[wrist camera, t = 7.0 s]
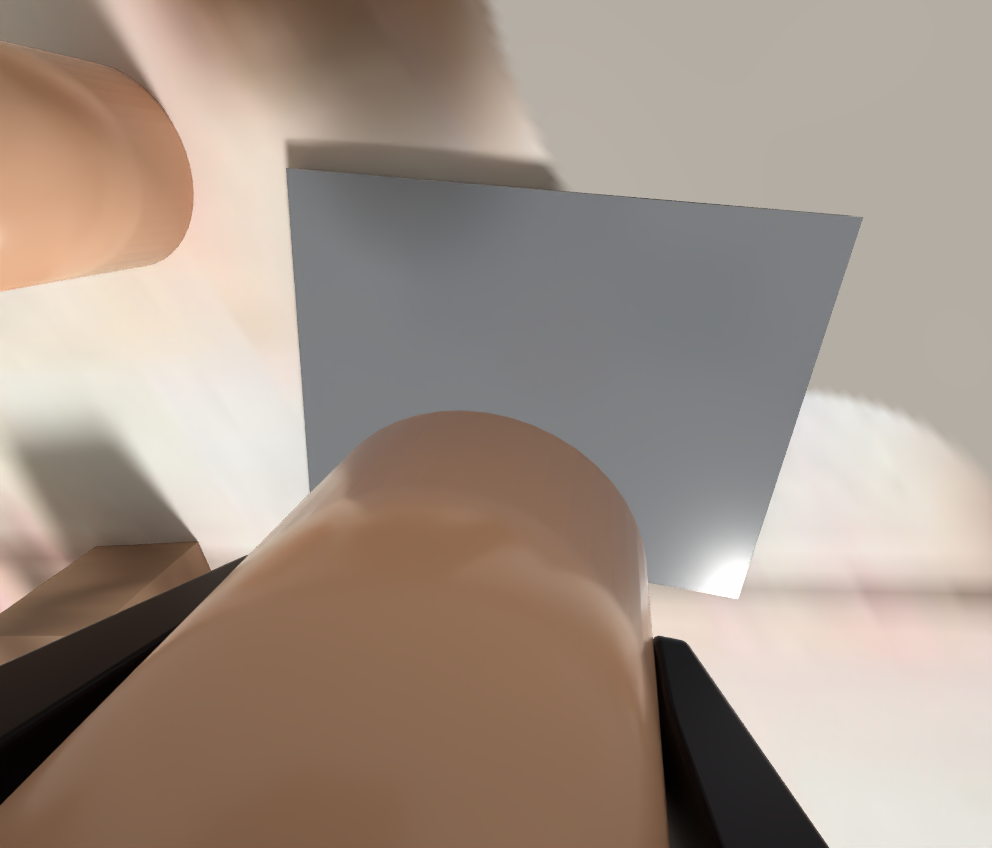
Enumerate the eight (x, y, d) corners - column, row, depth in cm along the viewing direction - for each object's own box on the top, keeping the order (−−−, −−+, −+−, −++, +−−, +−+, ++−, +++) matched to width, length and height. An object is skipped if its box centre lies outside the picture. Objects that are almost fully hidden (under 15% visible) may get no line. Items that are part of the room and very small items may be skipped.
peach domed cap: (177, 67, 15) (-80, -2, 9) (205, 276, 17) (13, 319, 11) (2, 56, 15) (-331, -14, 10) (51, 257, 18) (-197, 290, 12)
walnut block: (199, 540, 21) (88, 635, 17) (243, 640, 23) (154, 751, 19) (97, 545, 23) (-32, 635, 18) (147, 640, 24) (41, 743, 20)
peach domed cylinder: (680, 440, 7) (854, 1111, 2) (615, 716, 10) (615, 1386, 4) (310, 386, 8) (-263, 764, 3) (328, 652, 10) (22, 1149, 5)
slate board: (852, 216, 13) (863, 217, 12) (734, 586, 17) (737, 599, 17) (297, 168, 15) (285, 168, 14) (320, 511, 19) (312, 521, 19)
